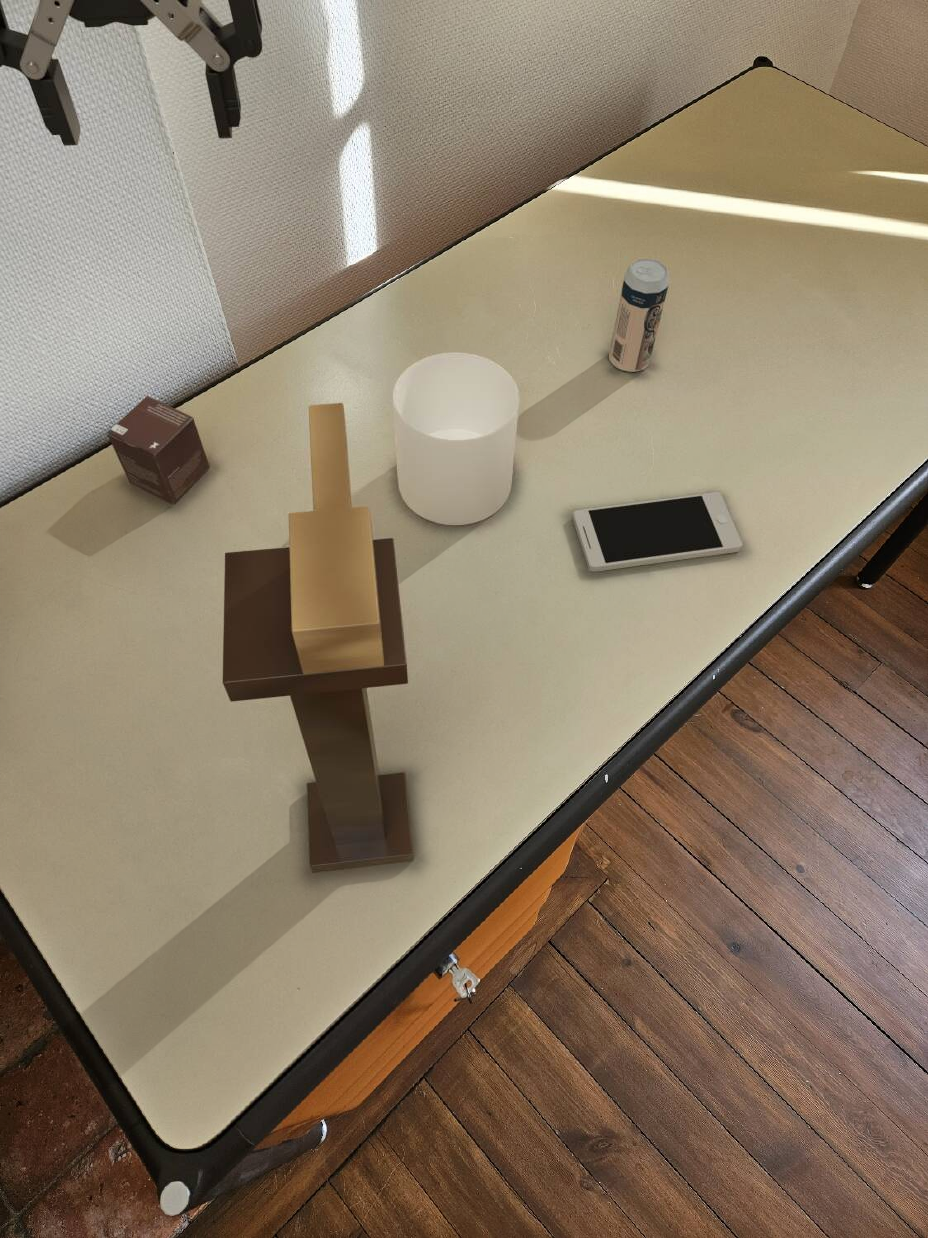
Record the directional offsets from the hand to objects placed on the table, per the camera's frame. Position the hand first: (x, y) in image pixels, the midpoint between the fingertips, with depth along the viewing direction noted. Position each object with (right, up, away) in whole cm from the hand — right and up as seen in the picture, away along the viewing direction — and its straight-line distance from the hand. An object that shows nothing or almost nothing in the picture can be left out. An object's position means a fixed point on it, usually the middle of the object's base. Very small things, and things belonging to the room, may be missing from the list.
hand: (150, 134), depth 52 cm
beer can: (+37, +2, +52) cm, 64 cm away
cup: (+17, -14, +42) cm, 47 cm away
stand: (+9, -44, +22) cm, 50 cm away
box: (-12, -13, +42) cm, 45 cm away
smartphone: (+37, -19, +39) cm, 57 cm away
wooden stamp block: (+11, -23, -3) cm, 26 cm away
